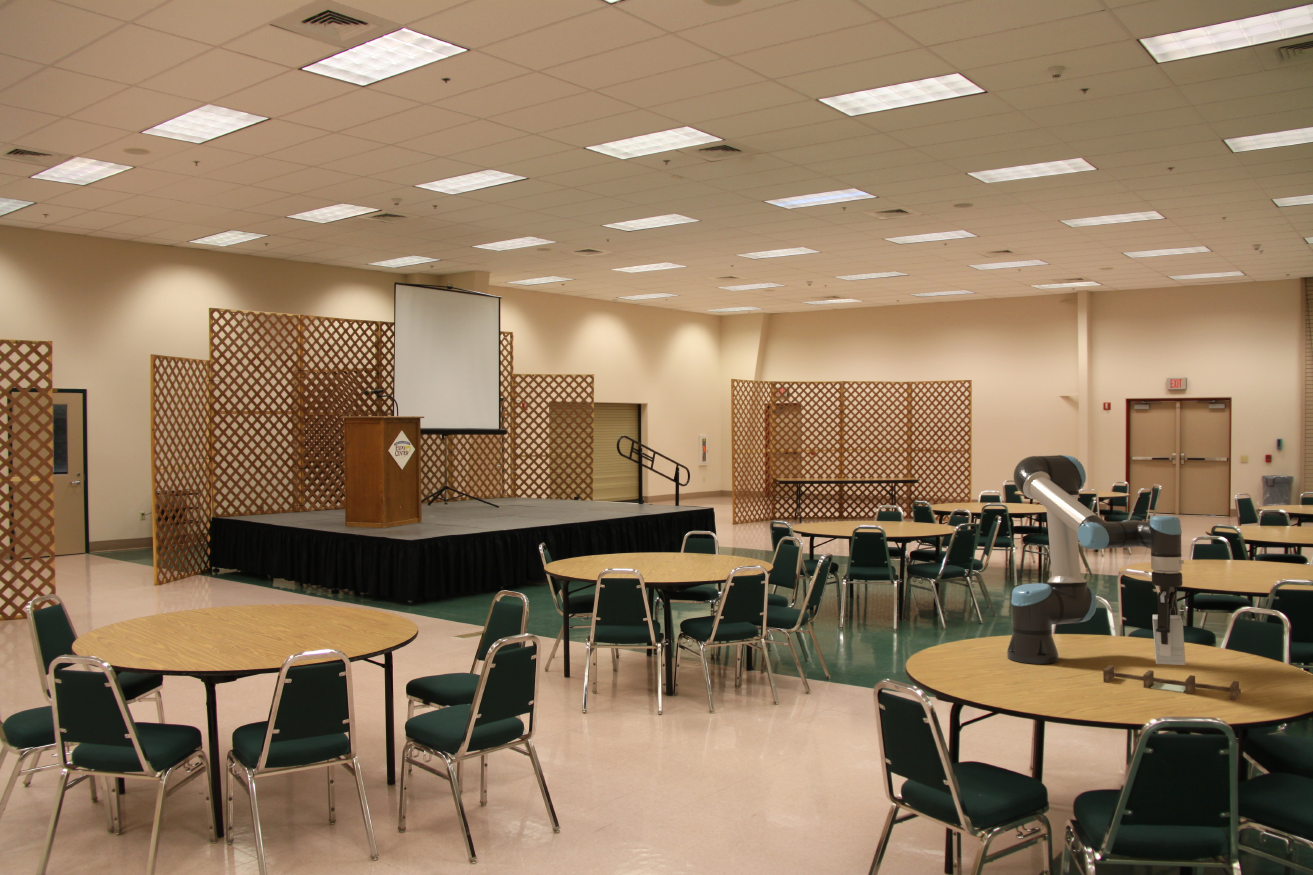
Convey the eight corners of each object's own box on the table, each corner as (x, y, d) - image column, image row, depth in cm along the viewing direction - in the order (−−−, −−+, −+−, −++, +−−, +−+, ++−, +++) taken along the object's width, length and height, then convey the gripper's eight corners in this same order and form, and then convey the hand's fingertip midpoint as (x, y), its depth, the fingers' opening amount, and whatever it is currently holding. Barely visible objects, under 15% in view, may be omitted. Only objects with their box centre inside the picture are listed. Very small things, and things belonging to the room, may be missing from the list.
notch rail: (1103, 681, 267) (1103, 669, 267) (1111, 675, 274) (1111, 663, 274) (1235, 699, 246) (1235, 686, 246) (1240, 692, 254) (1240, 679, 254)
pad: (1150, 688, 259) (1150, 687, 259) (1155, 683, 264) (1155, 682, 264) (1183, 692, 254) (1183, 691, 254) (1187, 687, 259) (1187, 686, 259)
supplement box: (1184, 659, 261) (1181, 614, 261) (1185, 665, 254) (1183, 619, 254) (1154, 658, 264) (1152, 613, 264) (1155, 664, 258) (1152, 618, 258)
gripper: (1174, 576, 249) (1176, 661, 249) (1189, 567, 265) (1191, 647, 265) (1143, 574, 254) (1145, 658, 253) (1159, 566, 270) (1161, 644, 270)
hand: (1168, 652), depth 259 cm, fingers closed on supplement box, 8 cm apart
